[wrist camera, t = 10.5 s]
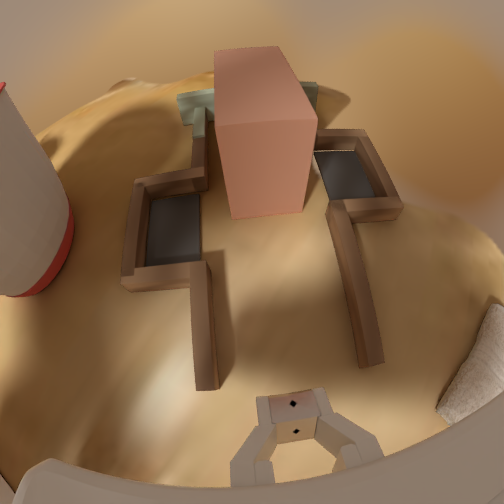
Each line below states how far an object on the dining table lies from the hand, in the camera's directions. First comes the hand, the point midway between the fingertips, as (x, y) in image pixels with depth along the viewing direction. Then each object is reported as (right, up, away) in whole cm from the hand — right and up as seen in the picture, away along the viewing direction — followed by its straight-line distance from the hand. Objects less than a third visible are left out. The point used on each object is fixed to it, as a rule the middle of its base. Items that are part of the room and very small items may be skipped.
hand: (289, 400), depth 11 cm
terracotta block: (-1, +15, +15) cm, 22 cm away
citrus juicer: (-26, +6, +12) cm, 29 cm away
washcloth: (+23, -8, +3) cm, 24 cm away
